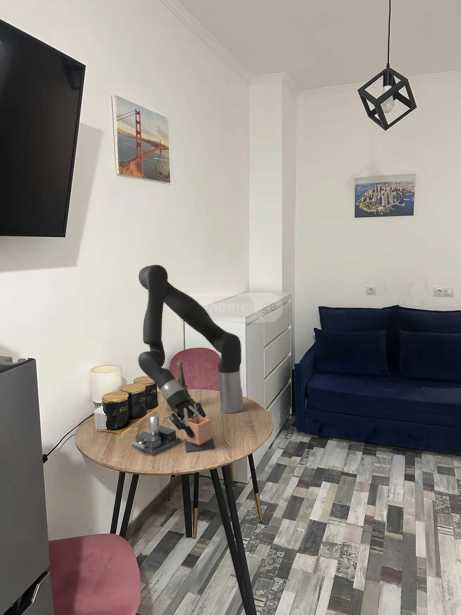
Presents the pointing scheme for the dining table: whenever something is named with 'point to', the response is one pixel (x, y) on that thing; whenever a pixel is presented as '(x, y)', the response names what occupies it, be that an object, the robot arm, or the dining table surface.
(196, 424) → the collar
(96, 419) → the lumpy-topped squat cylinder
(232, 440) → the dining table surface
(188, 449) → the mat
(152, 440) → the vise
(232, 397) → the robot arm
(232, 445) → the dining table surface
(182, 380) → the eiffel tower
